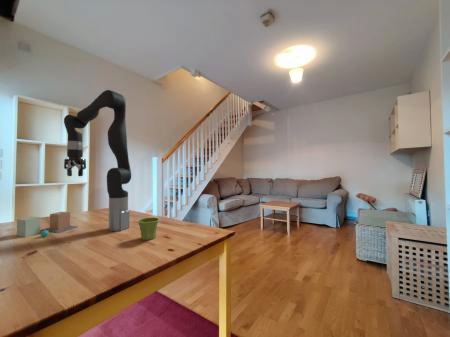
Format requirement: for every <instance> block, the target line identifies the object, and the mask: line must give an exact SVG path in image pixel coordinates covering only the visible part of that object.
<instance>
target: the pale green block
mask: <svg viewBox="0 0 450 337" xmlns="http://www.w3.org/2000/svg"><path fill="white" fill-rule="evenodd" d="M39 234H41V216H28V217H27V216H26V217H22V218H18V219H16V236H17V237H22V238H27V237H31V236H34V235H39Z"/></svg>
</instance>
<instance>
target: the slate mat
mask: <svg viewBox="0 0 450 337" xmlns="http://www.w3.org/2000/svg"><path fill="white" fill-rule="evenodd" d="M76 228H78V226H77V225H71V224H70V227H67V228H64V229H60V230H54V229H50V227H47V228H46V227H45V228H43V229H40V232H42V231H44V230H47V231H49V233H50V232H51V233H58V234H59V233H61V232H65V231H69V230H72V229H76Z"/></svg>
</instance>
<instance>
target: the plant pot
mask: <svg viewBox="0 0 450 337" xmlns="http://www.w3.org/2000/svg"><path fill="white" fill-rule="evenodd" d="M159 221H160V218H158V217H145V218H140V219H138V220H137V223H138V226H139V230H140V237H141V239H142V241H149V240H154V239H156V237H157V235H156V234H157V230H158V223H159Z"/></svg>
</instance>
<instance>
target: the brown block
mask: <svg viewBox="0 0 450 337" xmlns="http://www.w3.org/2000/svg"><path fill="white" fill-rule="evenodd" d="M70 225H71V212H70V211H58V212H53V213H50V214H49V228H50V229H54V230H60V229H64V228H67V227H70Z"/></svg>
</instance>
